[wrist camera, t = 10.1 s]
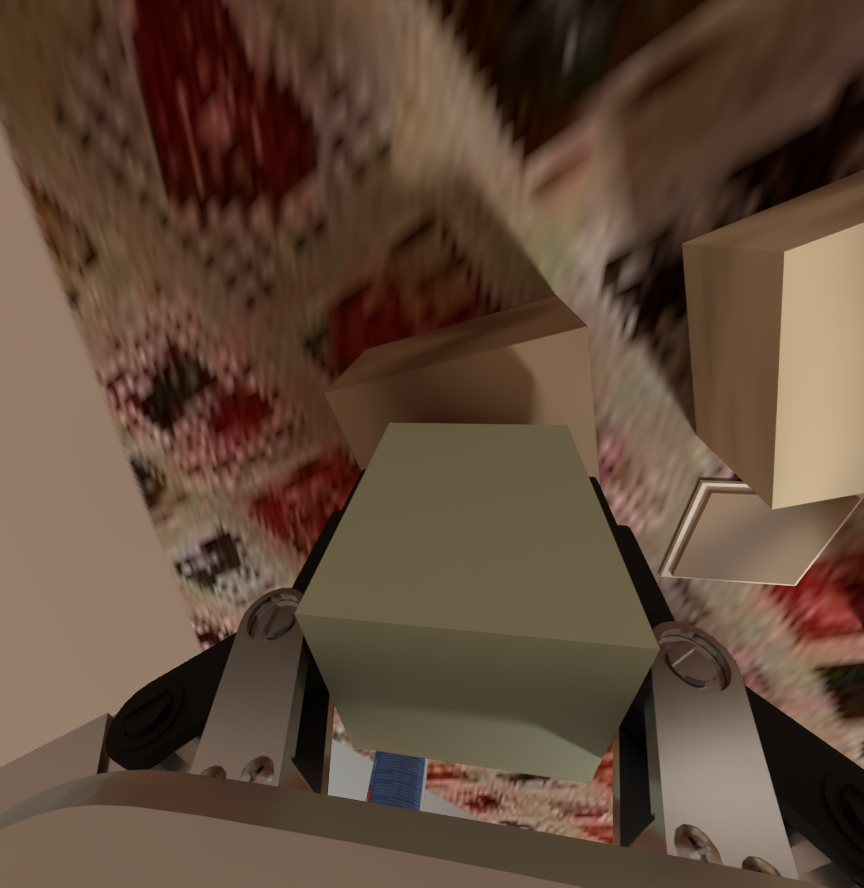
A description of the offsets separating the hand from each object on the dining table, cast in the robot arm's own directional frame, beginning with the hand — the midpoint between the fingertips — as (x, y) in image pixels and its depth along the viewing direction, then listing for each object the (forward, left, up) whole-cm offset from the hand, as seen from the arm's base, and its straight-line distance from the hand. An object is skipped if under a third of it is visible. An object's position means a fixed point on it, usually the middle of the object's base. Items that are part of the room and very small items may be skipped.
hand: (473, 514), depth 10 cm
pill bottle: (+7, +38, -7) cm, 39 cm away
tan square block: (0, 0, -7) cm, 7 cm away
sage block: (0, 0, -1) cm, 1 cm away
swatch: (-14, +7, -7) cm, 17 cm away
